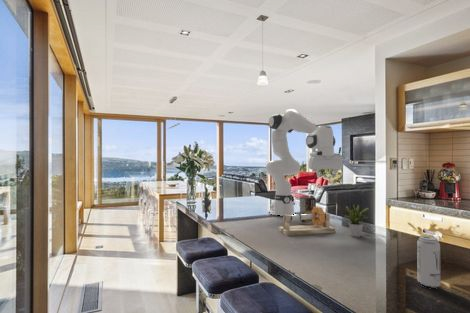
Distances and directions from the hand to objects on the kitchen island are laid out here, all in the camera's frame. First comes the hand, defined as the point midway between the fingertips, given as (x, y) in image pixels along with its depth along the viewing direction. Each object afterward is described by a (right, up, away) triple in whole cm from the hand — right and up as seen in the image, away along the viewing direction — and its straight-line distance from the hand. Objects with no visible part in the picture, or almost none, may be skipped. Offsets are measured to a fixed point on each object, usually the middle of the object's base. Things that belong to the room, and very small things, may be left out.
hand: (326, 177), depth 162 cm
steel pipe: (-13, -23, -6) cm, 27 cm away
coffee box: (-7, -30, +13) cm, 33 cm away
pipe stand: (-13, -29, -6) cm, 33 cm away
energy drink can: (+9, -29, -73) cm, 79 cm away
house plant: (+11, -29, -15) cm, 35 cm away
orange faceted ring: (-6, -26, -4) cm, 27 cm away
